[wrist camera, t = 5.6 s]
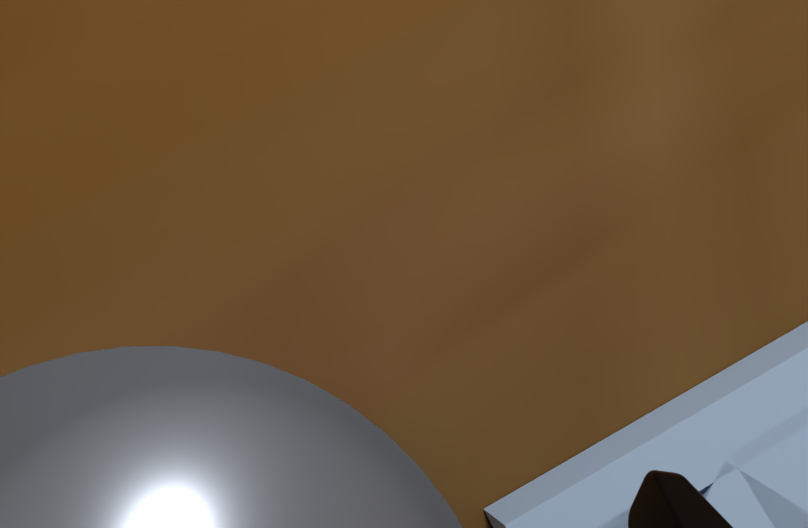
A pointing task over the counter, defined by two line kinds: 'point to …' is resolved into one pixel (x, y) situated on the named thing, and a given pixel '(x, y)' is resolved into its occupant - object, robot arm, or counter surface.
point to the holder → (693, 452)
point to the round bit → (196, 448)
